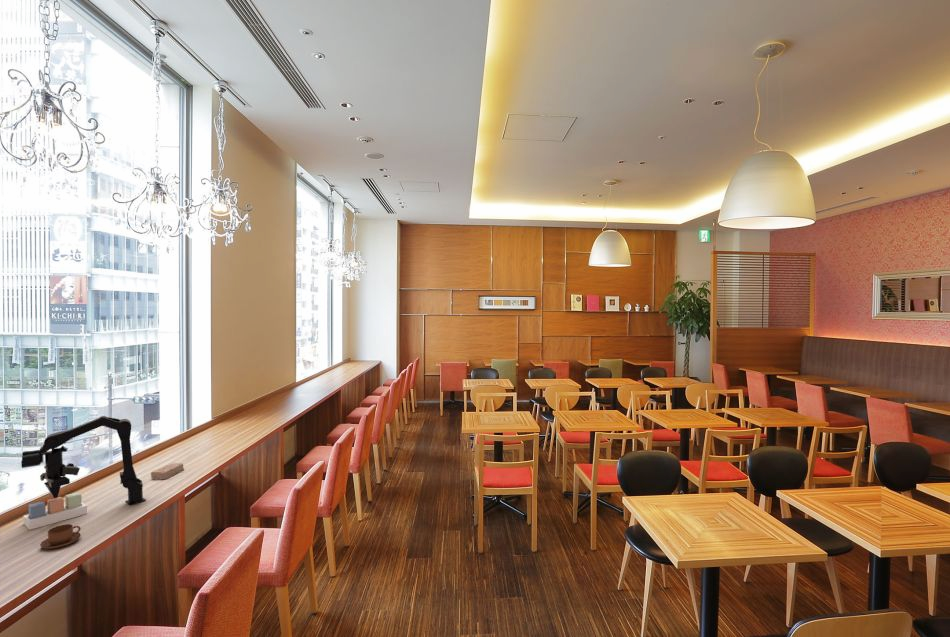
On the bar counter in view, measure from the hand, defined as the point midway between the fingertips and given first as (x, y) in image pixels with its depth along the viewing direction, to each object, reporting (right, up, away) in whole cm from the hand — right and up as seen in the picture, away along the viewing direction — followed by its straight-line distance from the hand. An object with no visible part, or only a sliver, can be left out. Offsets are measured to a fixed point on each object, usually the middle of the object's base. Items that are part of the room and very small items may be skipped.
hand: (55, 498), depth 211 cm
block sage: (+4, -6, +5) cm, 9 cm away
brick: (+14, -8, +56) cm, 58 cm away
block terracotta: (0, -7, 0) cm, 7 cm away
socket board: (0, -9, 0) cm, 9 cm away
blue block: (-4, -7, -5) cm, 9 cm away
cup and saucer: (+23, -10, -23) cm, 34 cm away
